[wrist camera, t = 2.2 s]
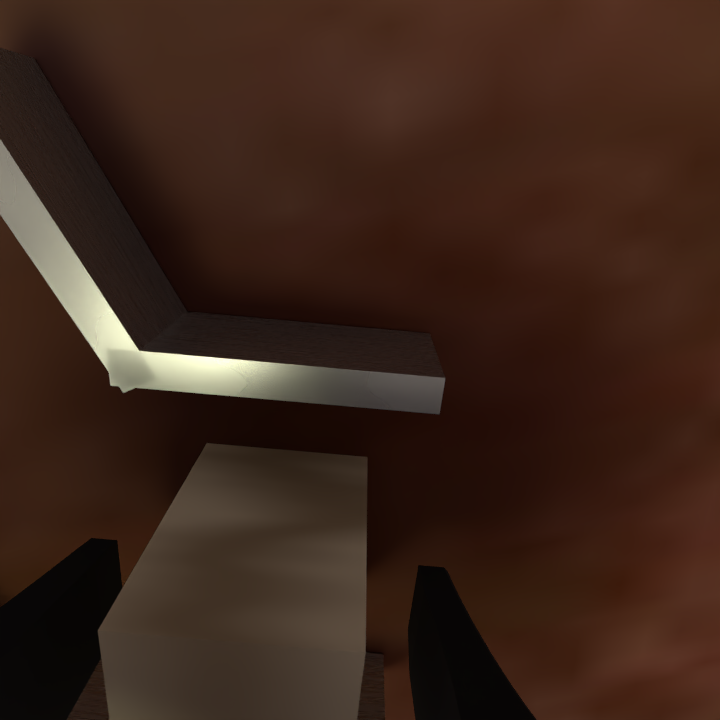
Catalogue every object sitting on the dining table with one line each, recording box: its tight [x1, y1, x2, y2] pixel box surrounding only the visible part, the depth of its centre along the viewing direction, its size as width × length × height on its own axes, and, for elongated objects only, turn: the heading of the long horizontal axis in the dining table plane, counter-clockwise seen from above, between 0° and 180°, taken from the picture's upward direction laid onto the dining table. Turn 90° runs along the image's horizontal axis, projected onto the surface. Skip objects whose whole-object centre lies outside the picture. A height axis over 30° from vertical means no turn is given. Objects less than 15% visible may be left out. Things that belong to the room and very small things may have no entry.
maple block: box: [98, 443, 368, 720], centre depth 12 cm, size 4×4×6 cm
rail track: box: [0, 48, 445, 720], centre depth 13 cm, size 22×17×3 cm
